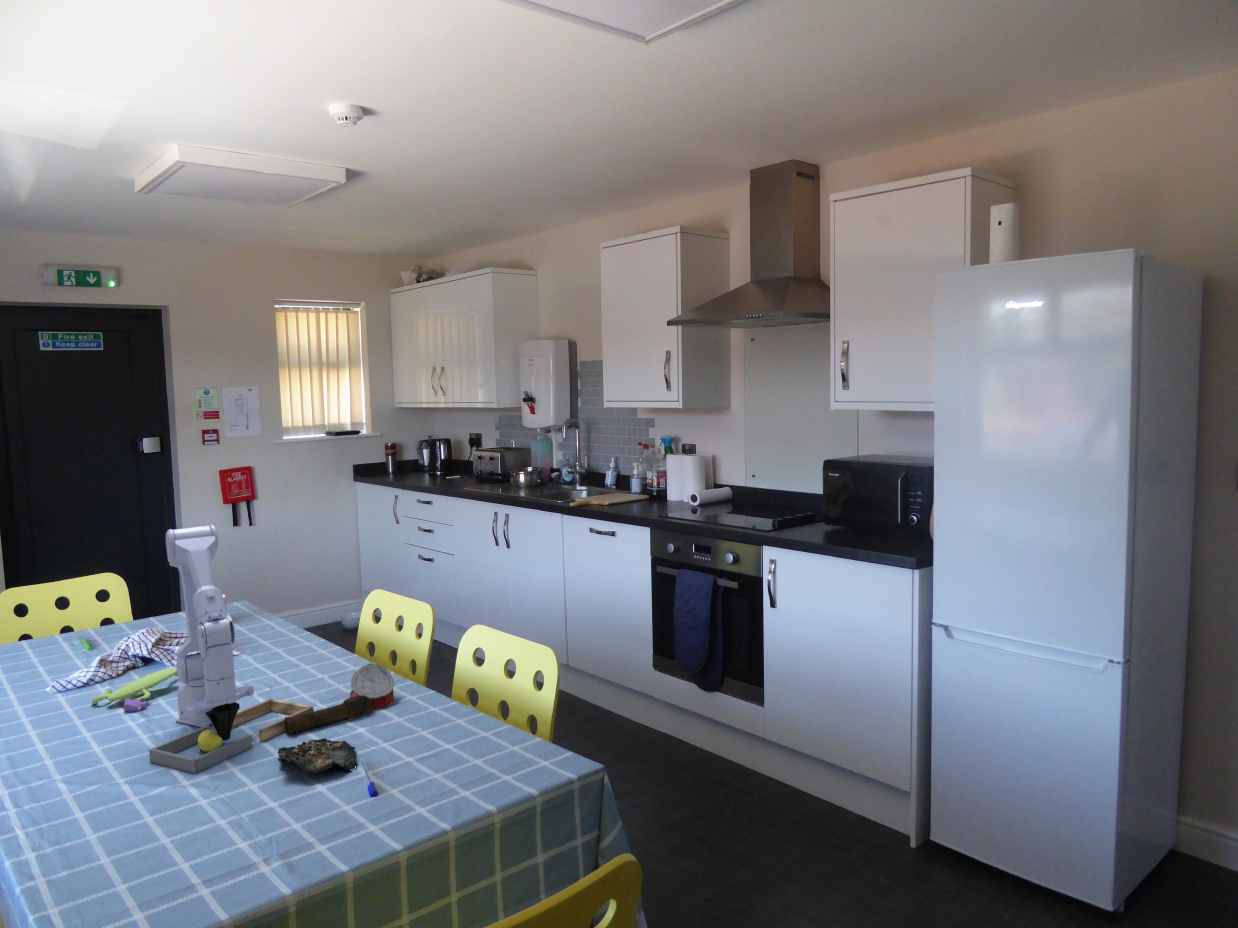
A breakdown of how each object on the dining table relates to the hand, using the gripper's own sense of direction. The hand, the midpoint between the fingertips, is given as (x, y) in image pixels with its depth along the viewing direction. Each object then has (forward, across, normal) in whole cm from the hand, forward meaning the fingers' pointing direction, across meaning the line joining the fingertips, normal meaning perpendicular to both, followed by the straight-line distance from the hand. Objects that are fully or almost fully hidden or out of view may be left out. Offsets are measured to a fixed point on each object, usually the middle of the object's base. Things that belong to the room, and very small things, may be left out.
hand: (224, 738), depth 174 cm
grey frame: (+1, -5, 0) cm, 5 cm away
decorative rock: (+2, +1, -25) cm, 25 cm away
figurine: (+2, +15, +42) cm, 45 cm away
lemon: (+1, -3, 0) cm, 4 cm away
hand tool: (+2, +17, -12) cm, 21 cm away
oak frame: (+1, +11, 0) cm, 11 cm away
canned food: (+1, +30, -13) cm, 33 cm away
